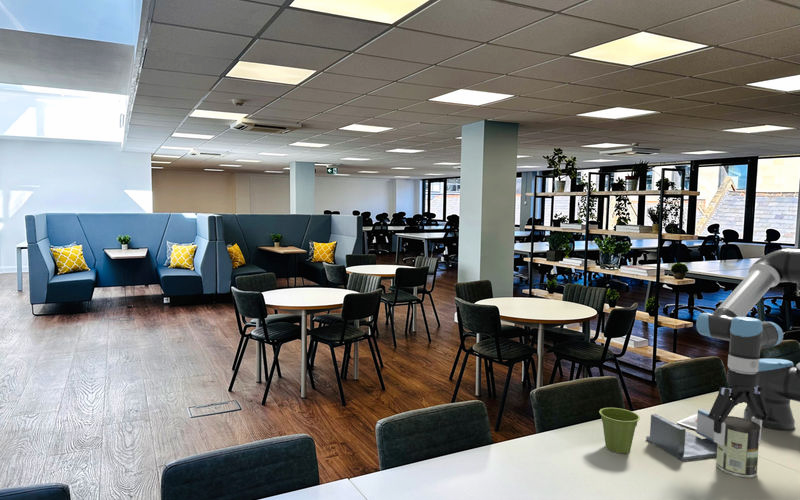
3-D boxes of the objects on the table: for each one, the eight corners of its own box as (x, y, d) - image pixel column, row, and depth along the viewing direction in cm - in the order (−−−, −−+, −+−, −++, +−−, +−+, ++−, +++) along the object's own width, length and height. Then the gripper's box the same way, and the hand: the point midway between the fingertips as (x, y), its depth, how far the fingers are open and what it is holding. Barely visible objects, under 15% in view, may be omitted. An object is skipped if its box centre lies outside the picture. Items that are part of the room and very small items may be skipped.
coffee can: (747, 462, 154) (750, 417, 153) (764, 480, 144) (767, 431, 143) (709, 458, 156) (712, 414, 155) (723, 475, 146) (727, 427, 145)
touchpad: (675, 425, 182) (675, 419, 182) (696, 416, 191) (696, 411, 191) (698, 433, 176) (698, 427, 176) (718, 424, 184) (718, 418, 184)
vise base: (711, 432, 175) (713, 406, 175) (751, 452, 161) (753, 424, 160) (646, 439, 168) (647, 412, 168) (682, 461, 154) (684, 431, 153)
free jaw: (715, 431, 173) (717, 408, 173) (745, 445, 163) (746, 420, 162) (695, 433, 171) (696, 410, 170) (723, 447, 160) (725, 423, 160)
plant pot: (637, 445, 164) (639, 411, 163) (638, 460, 153) (640, 424, 153) (598, 437, 169) (600, 404, 168) (596, 452, 158) (598, 417, 158)
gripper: (720, 376, 141) (714, 450, 142) (788, 372, 148) (782, 443, 149) (697, 368, 148) (692, 439, 149) (763, 365, 155) (758, 433, 156)
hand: (737, 441), depth 149 cm, fingers open, 13 cm apart
